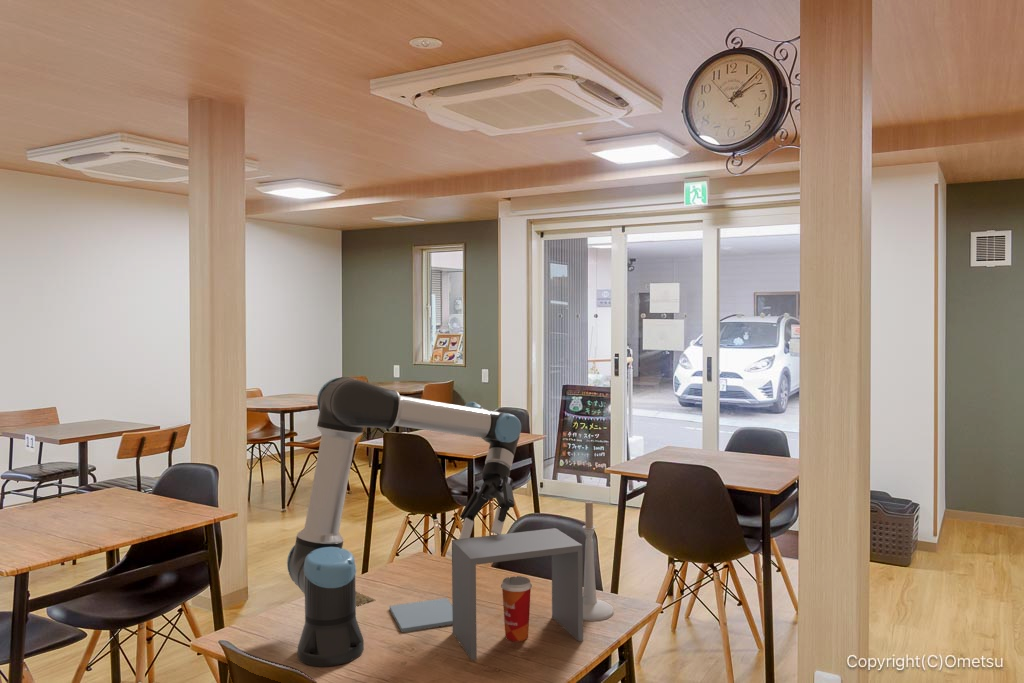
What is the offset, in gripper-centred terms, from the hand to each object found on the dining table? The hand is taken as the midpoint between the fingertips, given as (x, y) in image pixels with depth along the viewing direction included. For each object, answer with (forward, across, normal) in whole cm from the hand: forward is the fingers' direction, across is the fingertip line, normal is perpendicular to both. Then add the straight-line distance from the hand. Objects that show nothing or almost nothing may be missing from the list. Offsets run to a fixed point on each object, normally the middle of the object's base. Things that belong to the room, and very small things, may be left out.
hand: (479, 537), depth 192 cm
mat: (+18, +19, -2) cm, 26 cm away
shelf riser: (+21, -6, -14) cm, 26 cm away
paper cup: (+21, -6, -14) cm, 26 cm away
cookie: (+16, +42, +10) cm, 46 cm away
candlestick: (+7, -8, -35) cm, 37 cm away
